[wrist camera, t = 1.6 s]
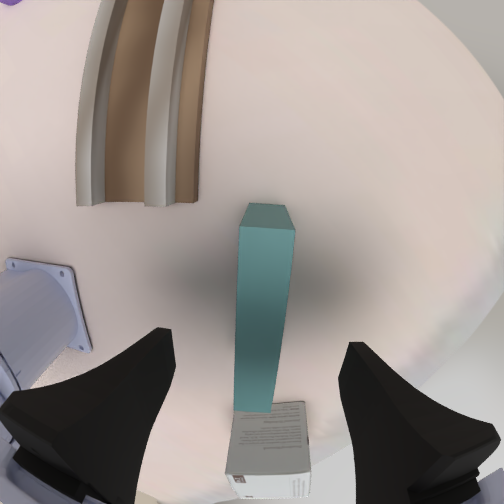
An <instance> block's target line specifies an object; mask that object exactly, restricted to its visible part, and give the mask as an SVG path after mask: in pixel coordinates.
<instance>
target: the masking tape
mask: <svg viewBox="0 0 504 504" xmlns="http://www.w3.org/2000/svg"><path fill="white" fill-rule="evenodd" d="M20 1H22V0H0V2H1V3H4V4H7V5H15V4H17V3H19V2H20Z"/></svg>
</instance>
